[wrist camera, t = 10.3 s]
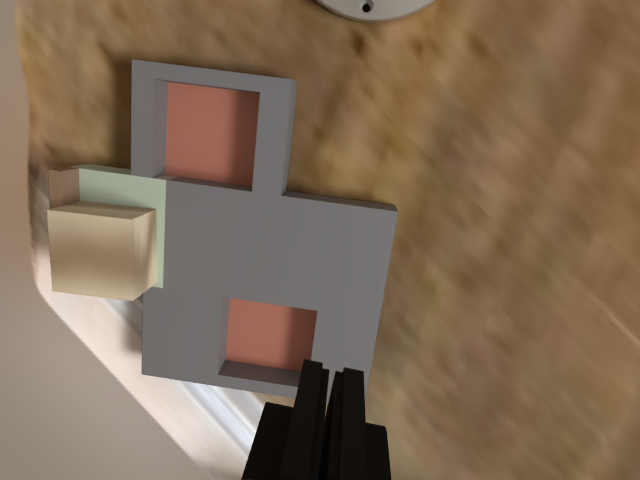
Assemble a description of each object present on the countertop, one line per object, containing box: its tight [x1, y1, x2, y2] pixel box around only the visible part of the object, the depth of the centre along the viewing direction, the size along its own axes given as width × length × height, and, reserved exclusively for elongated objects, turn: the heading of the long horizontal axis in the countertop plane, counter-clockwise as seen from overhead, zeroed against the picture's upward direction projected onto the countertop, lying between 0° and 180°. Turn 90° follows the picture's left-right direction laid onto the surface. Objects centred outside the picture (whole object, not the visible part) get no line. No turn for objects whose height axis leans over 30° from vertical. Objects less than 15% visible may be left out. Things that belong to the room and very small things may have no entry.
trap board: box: [48, 59, 398, 403], centre depth 31 cm, size 23×23×4 cm
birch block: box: [47, 201, 157, 301], centre depth 29 cm, size 6×6×4 cm
